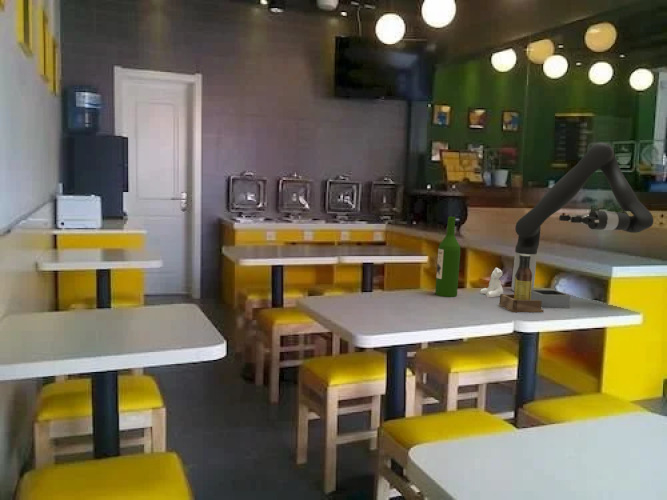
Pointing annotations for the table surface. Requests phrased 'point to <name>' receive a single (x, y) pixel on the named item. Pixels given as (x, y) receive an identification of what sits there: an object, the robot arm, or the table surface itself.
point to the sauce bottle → (523, 279)
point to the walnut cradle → (519, 304)
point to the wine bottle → (448, 263)
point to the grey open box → (551, 298)
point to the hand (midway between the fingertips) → (565, 218)
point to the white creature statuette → (494, 285)
